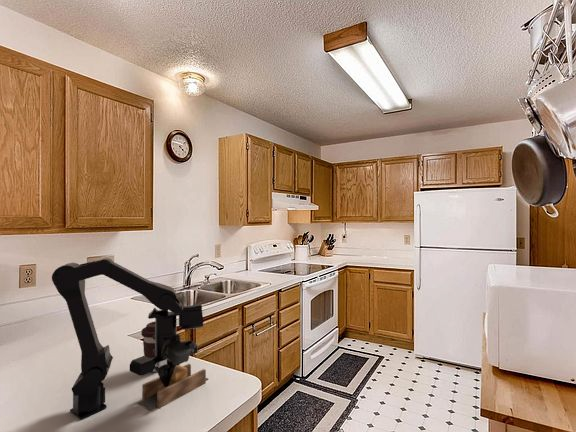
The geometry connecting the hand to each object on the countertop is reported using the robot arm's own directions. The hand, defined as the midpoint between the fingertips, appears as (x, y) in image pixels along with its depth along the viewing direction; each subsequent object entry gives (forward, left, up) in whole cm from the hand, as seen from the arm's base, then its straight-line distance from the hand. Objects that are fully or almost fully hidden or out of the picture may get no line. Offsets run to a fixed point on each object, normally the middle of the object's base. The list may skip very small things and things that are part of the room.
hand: (166, 386), depth 92 cm
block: (+4, 0, -1) cm, 4 cm away
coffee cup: (+9, +18, -3) cm, 21 cm away
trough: (+3, 0, -3) cm, 4 cm away
